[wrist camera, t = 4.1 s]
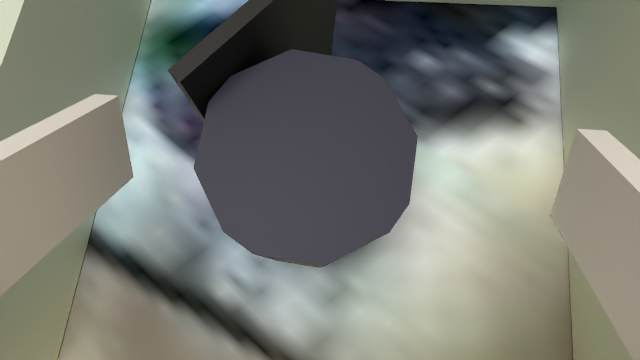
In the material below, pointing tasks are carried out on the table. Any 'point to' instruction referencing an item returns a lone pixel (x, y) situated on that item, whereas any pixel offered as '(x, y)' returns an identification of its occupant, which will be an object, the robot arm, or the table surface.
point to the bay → (113, 79)
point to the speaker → (295, 135)
